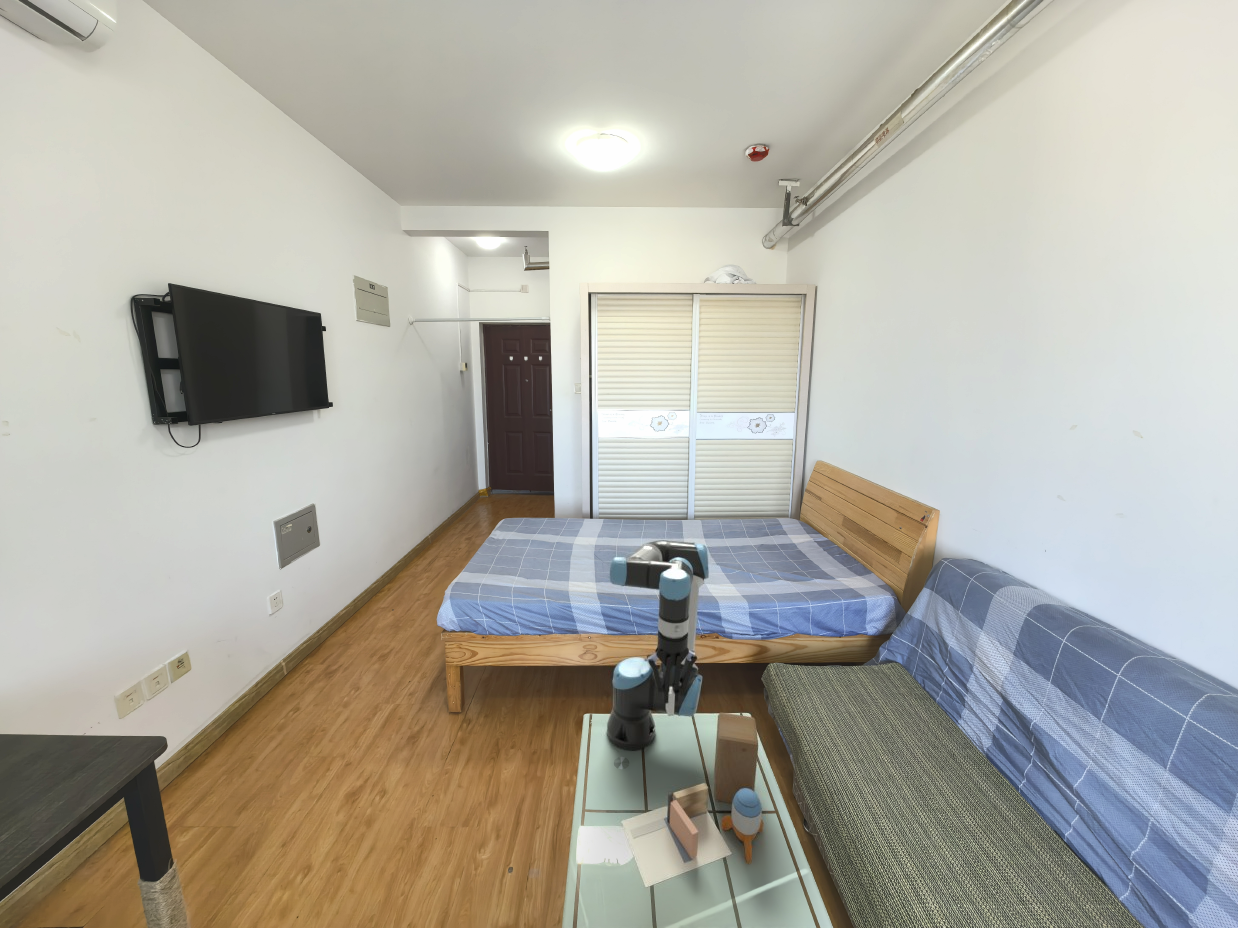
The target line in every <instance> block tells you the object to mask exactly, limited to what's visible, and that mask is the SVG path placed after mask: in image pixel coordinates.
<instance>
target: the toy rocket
mask: <svg viewBox="0 0 1238 928" xmlns="http://www.w3.org/2000/svg"><path fill="white" fill-rule="evenodd" d="M762 813H763V812H762V803H761V800H760V798H759V796H758V794H757V793H756V792H755V790H754V791H753V790H751V789H748V788H742V789H740V790H739V791H738V792H737V793H736V794H735V796H734V799H733V803H732V804H731V814H728V815H725V816H723V817H722V819H721V820H720V821H721V822H720V824H721V825H720V826H721V829H722V830H724V831H728V830H730V829H731V828H732V829H733V831H734V833H735V835H736V837H737V838H738V840H739V841H740V842H741V843H742V844H743V845H744V855H745V861H746V863H747V864H748V865H751V863H752V859H753V848H752V846H753V845H752V841H753V840H754V839H755V837H756V836H757V834H758V833H762V832H763V829H764V821H763V819H762V815H763V814H762Z"/></svg>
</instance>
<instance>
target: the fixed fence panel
mask: <svg viewBox="0 0 1238 928" xmlns="http://www.w3.org/2000/svg"><path fill="white" fill-rule="evenodd" d="M708 797H709V787H708V785H707V783H706V782H703V783H700V784H696V785H694V786H690V787H687V788H683V789H681V790H678V791H675V792H672V791H668V793H667V806H668V810H667V822H668V823H670V804H671V802H672V801H674V800H677V802H678V803H679V805H680V806H681V807H682V809H683V810H684V812H685V813H686V815H687V816H688V817H692V816H695V815H698V814H701V813H704V812H707V811H708Z"/></svg>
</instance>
